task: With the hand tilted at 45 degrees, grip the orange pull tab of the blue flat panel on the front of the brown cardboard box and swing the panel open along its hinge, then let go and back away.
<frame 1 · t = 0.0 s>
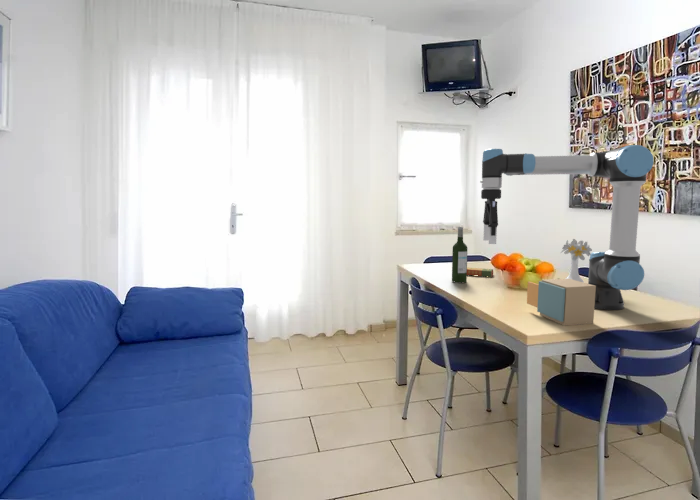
hand: (489, 242, 171), 28 cm above the table, tool pointing down, fingers open, 13 cm apart
carton: (478, 276, 251), on the table
kraft box: (565, 319, 161), on the table
flower vase: (574, 290, 209), on the table
wine bottle: (459, 282, 233), on the table
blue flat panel: (544, 298, 162), point 7 cm above the table, hinge at 0.0°
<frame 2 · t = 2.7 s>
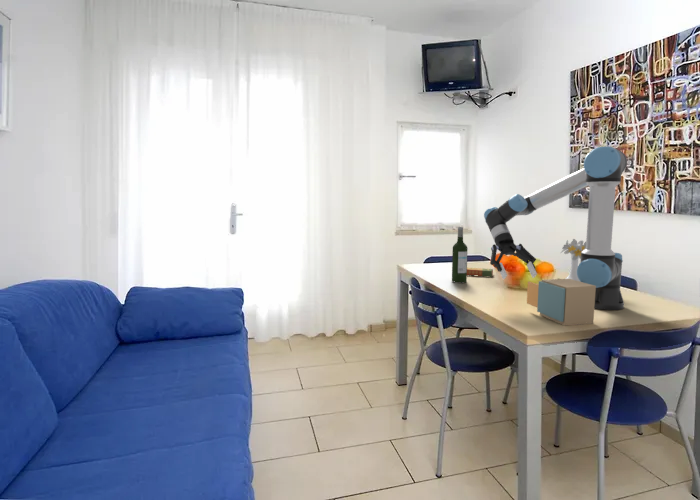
hand: (520, 276, 176), 13 cm above the table, tool tilted 45°, fingers open, 13 cm apart
nothing on the table moved.
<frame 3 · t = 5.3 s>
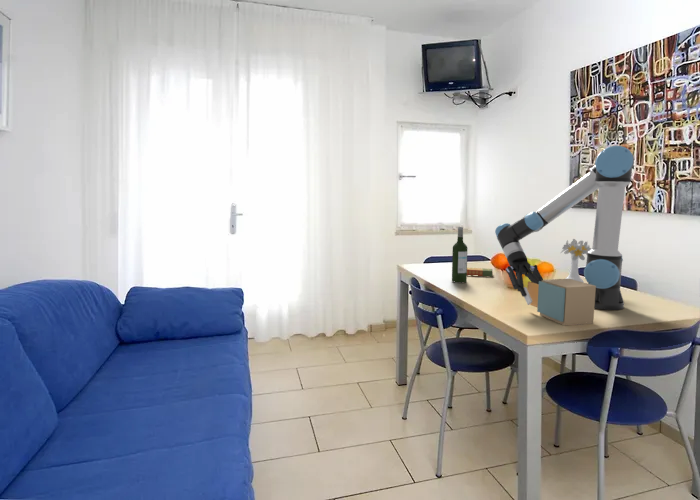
hand: (537, 302, 167), 5 cm above the table, tool tilted 45°, fingers open, 6 cm apart
nothing on the table moved.
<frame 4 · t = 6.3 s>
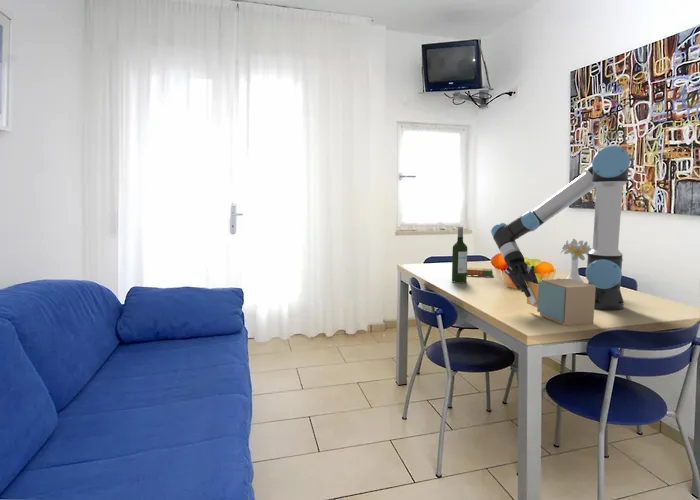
hand: (536, 303, 167), 4 cm above the table, tool tilted 45°, fingers closed
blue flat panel: (544, 298, 162), point 7 cm above the table, hinge at 0.0°, touching gripper
everything else where it was.
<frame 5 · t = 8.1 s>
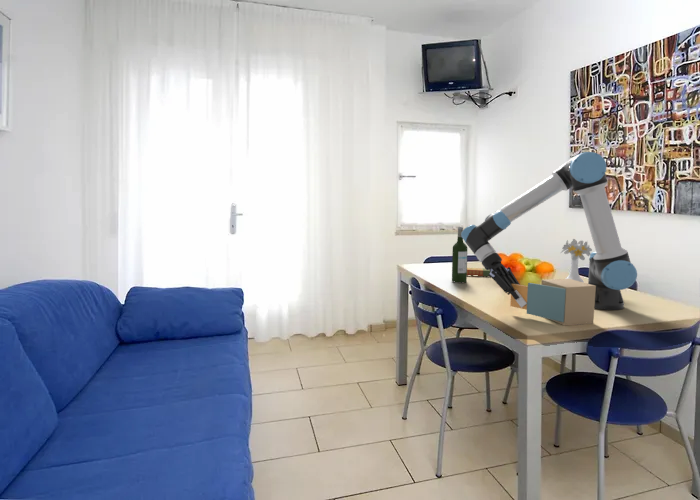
hand: (525, 305, 164), 5 cm above the table, tool tilted 45°, fingers closed
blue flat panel: (536, 299, 160), point 7 cm above the table, hinge at 25.4°, touching gripper
everything else where it was.
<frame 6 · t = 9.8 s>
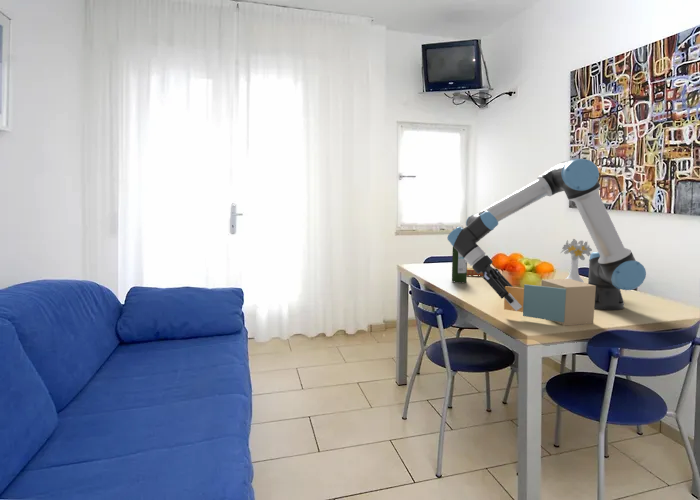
hand: (520, 307, 160), 5 cm above the table, tool tilted 45°, fingers open, 5 cm apart
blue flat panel: (533, 301, 157), point 7 cm above the table, hinge at 43.0°
everything else where it was.
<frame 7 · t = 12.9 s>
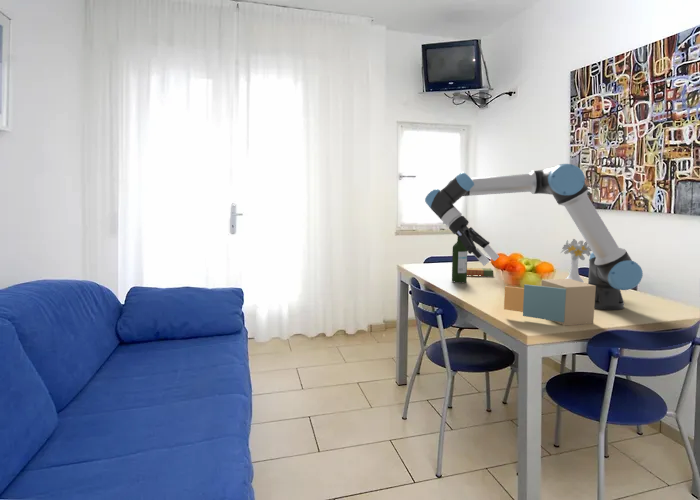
hand: (492, 261, 164), 21 cm above the table, tool tilted 45°, fingers open, 13 cm apart
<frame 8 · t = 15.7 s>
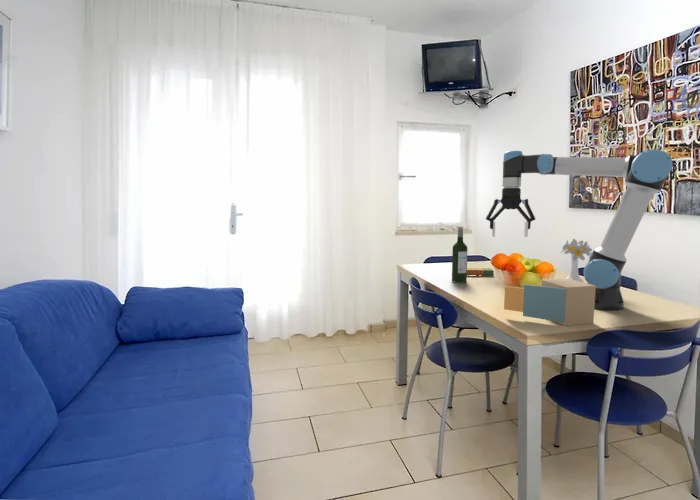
hand: (509, 236, 186), 29 cm above the table, tool pointing down, fingers open, 13 cm apart
at the end: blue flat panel at +43° (first picture: +0°); the gripper is holding nothing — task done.
